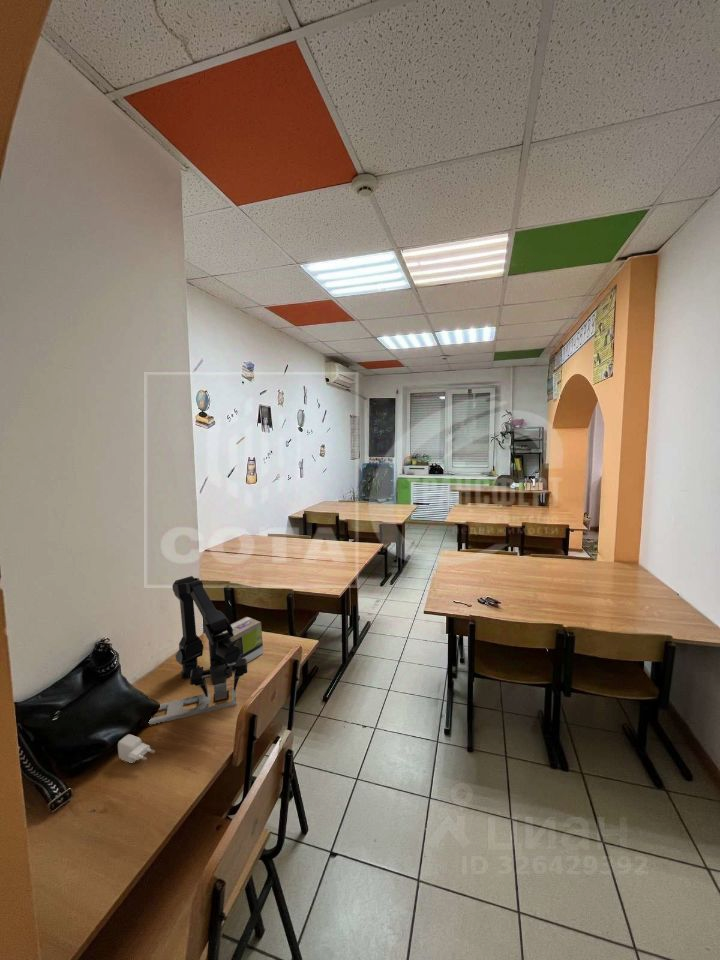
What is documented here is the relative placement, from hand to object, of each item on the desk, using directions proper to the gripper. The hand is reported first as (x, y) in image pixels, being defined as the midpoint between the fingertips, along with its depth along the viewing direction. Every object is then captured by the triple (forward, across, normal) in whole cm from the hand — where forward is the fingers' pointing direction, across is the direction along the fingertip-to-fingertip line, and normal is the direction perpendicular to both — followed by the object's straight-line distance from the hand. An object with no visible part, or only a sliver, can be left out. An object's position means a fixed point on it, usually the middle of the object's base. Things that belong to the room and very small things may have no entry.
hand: (220, 693), depth 135 cm
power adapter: (+3, -23, -18) cm, 29 cm away
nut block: (+3, 0, 0) cm, 3 cm away
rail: (+3, -10, 0) cm, 10 cm away
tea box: (+3, +8, +25) cm, 26 cm away
